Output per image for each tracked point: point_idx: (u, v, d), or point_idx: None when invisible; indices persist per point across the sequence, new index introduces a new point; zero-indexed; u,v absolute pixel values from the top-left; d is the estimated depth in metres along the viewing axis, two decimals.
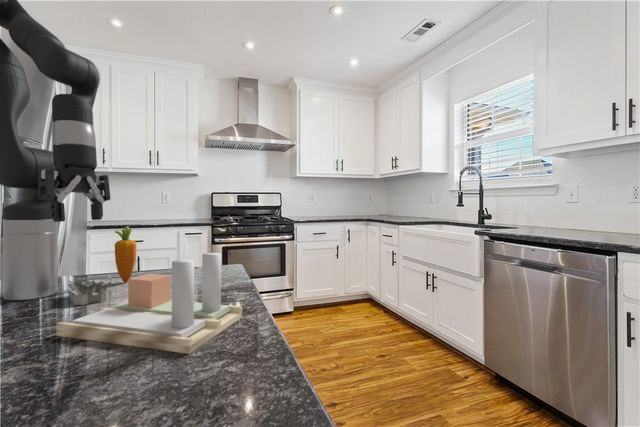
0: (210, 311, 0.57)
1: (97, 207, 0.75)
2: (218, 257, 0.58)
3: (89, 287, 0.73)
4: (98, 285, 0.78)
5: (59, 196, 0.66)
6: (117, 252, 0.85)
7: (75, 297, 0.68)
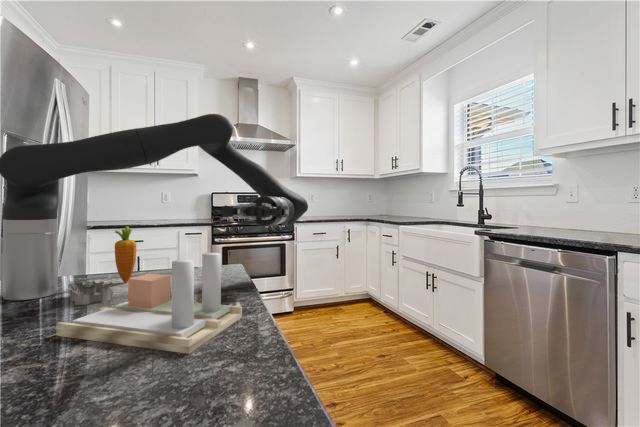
0: (210, 311, 0.57)
1: (231, 214, 0.73)
2: (218, 257, 0.58)
3: (90, 287, 0.73)
4: (98, 285, 0.78)
5: (271, 217, 0.73)
6: (117, 252, 0.85)
7: (77, 297, 0.68)
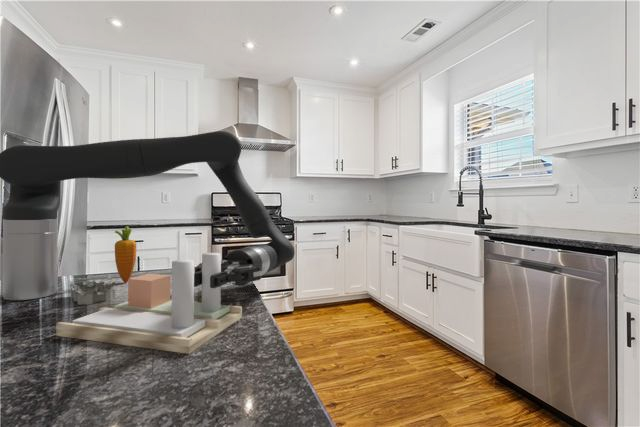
0: (210, 311, 0.57)
1: None
2: (218, 257, 0.58)
3: (91, 287, 0.74)
4: (99, 285, 0.78)
5: None
6: (117, 252, 0.85)
7: (80, 297, 0.68)
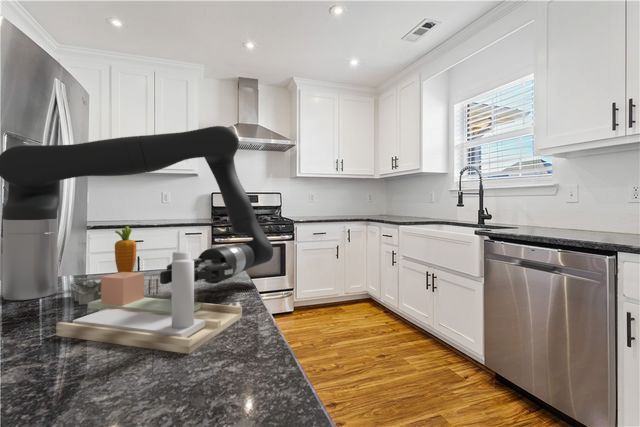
0: None
1: None
2: (188, 255, 0.60)
3: (92, 287, 0.74)
4: (99, 285, 0.78)
5: (201, 280, 0.62)
6: (117, 252, 0.85)
7: (81, 297, 0.68)
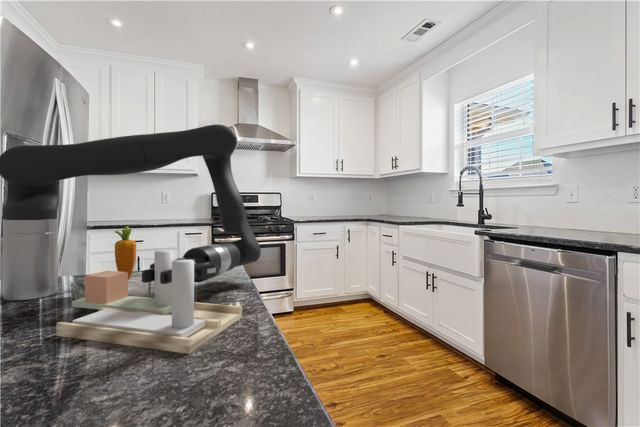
0: (161, 306, 0.60)
1: None
2: (170, 254, 0.61)
3: None
4: None
5: None
6: (117, 252, 0.85)
7: (82, 297, 0.68)
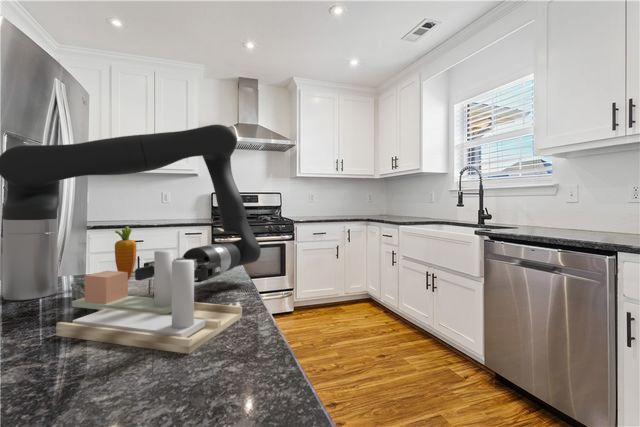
0: (161, 306, 0.60)
1: (149, 275, 0.63)
2: (170, 254, 0.61)
3: None
4: None
5: None
6: (117, 252, 0.85)
7: (83, 296, 0.68)
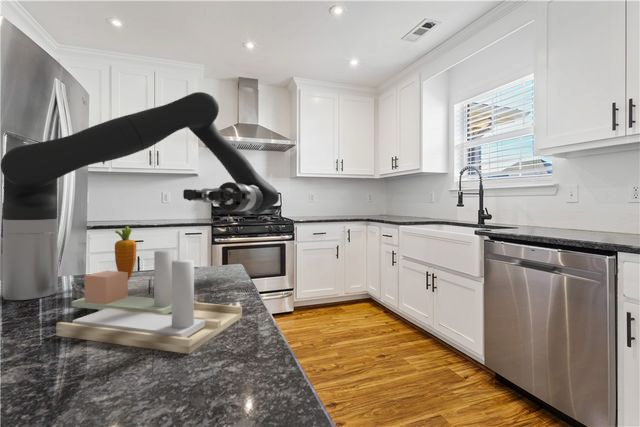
0: (161, 306, 0.60)
1: (193, 197, 0.76)
2: (170, 254, 0.61)
3: None
4: None
5: (232, 200, 0.76)
6: (117, 252, 0.85)
7: None
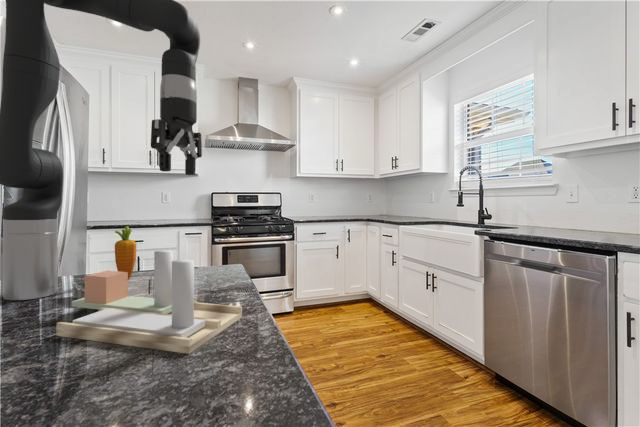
0: (161, 306, 0.60)
1: (192, 162, 0.78)
2: (170, 254, 0.61)
3: None
4: None
5: (168, 146, 0.69)
6: (117, 252, 0.85)
7: None
